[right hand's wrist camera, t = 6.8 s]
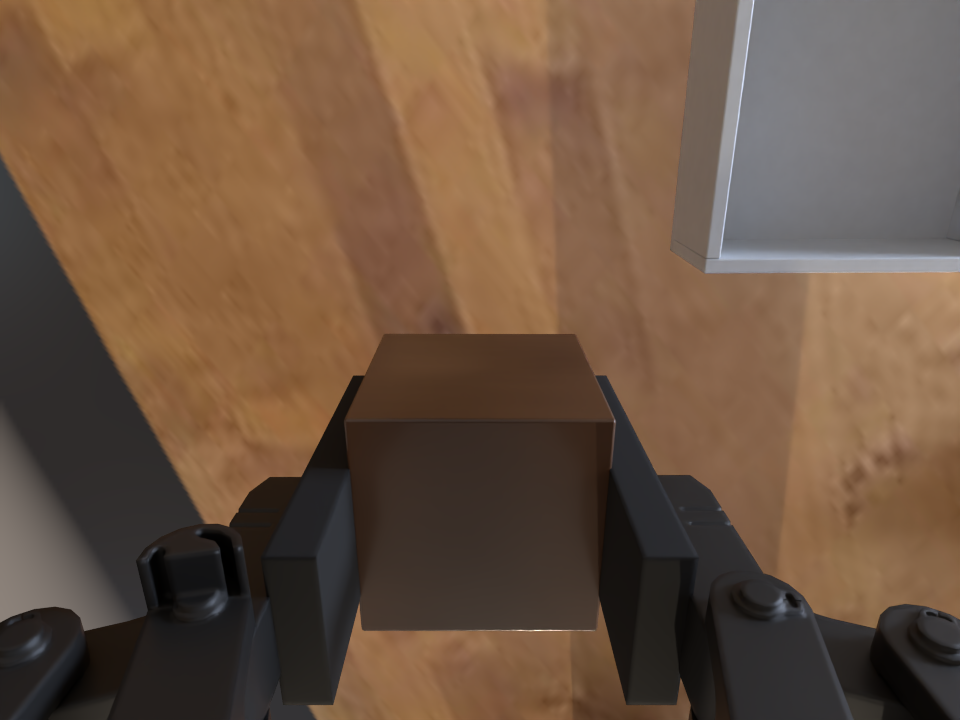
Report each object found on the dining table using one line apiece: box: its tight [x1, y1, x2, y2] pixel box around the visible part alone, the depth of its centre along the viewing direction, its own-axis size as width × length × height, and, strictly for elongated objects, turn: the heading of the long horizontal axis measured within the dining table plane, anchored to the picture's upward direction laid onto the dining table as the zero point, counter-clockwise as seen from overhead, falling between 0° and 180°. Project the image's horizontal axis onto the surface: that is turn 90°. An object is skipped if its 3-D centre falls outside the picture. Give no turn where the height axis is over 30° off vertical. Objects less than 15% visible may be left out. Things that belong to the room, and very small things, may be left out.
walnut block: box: [344, 334, 616, 631], centre depth 13 cm, size 4×4×4 cm
